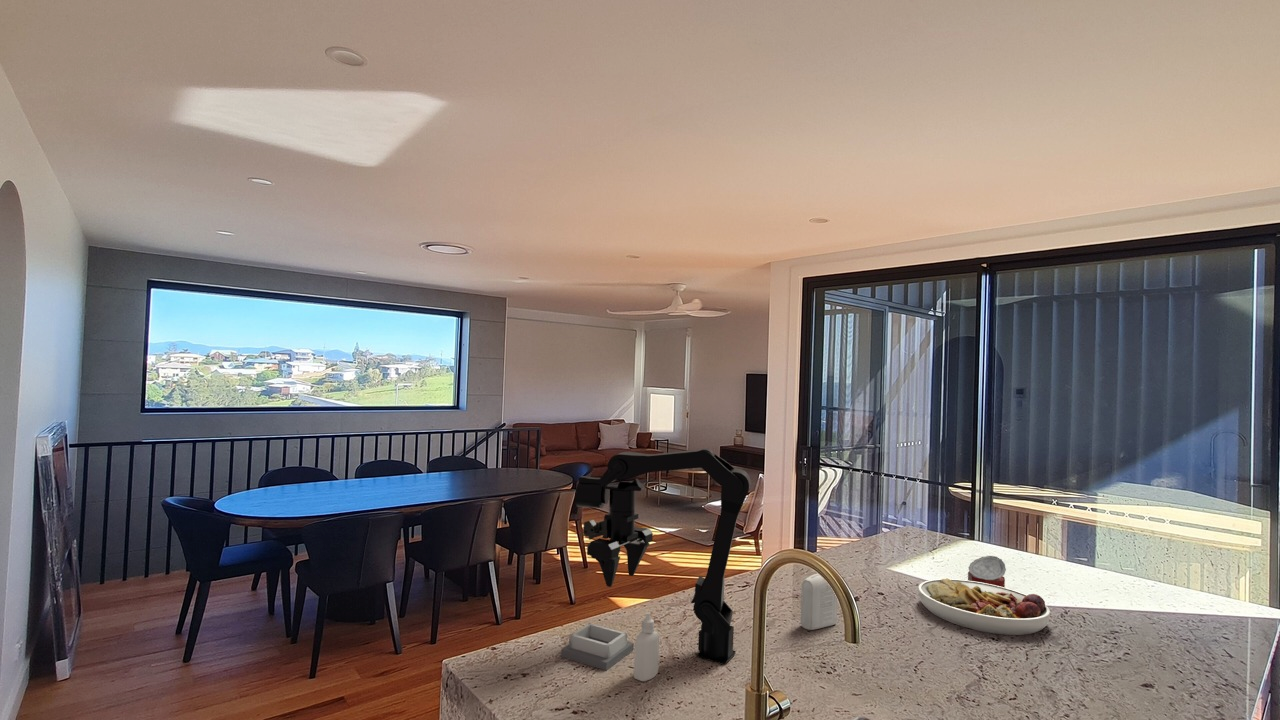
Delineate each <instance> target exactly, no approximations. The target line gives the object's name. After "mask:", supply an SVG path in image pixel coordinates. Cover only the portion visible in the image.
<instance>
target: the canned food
mask: <svg viewBox="0 0 1280 720" xmlns="http://www.w3.org/2000/svg"><path fill="white" fill-rule="evenodd" d="M1006 571H1007V568H1006V564H1005V562H1004V561H1003V559H1002V558H999V557H998V556H995V555H986V556H980V557H979V558H977V559H974V560H973V561H972V562H970V564H969V566H968V572H967V580H968V581H975V582H981V583H987V584H992V585H996V586H1000V587H1005V588H1006V586H1005V585H1006V584H1005V583H1006V578H1005V574H1006Z"/></svg>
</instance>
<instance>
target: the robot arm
mask: <svg viewBox="0 0 1280 720" xmlns="http://www.w3.org/2000/svg"><path fill="white" fill-rule="evenodd" d="M689 469H690V470H691V469H702V470H703V471H704V472H705V473H707V474H708V476H710V477H711V479H712V480H713V481H714V482H716V483H717V484H718V485H719V486H721V491H720V492H721V493H720V515H719V519H718V524H717V528H716V533H715V537H714V541H713V545H712V549H711V554H710V558H709V562H708V567H707V570H706V571H707V572H706V574H705V577H702V576H700V575H699V576H698V578H697V580H696V583H695V584H694V586H695V587H694V594H693V597H692V599H691V601H690V602H691V603H690V604H693V613H694V616H696V618H697V619H698V620H699V621H701V625H700V630H699V631H698V642H697V643H698V645H697V650H698V651H699V652H698V653H697V655H696V657H697V658H700V659H704V660H706V661H710V662H714V663H718V664H722V665H726V664H728V663H729V661H731V659H732V658H733V657H734V656H735V655H736V651H737V650H736V651H735V650H734V635H735V634H734V629H735V628H734V626H733V625H731V623H732V618H733V613H734V611H733V609H732V608H731V607H730V606H729V605H728V603H727V602H726V601H725V600H724V599H725V573H726V570H727V566H728V565H727V564H728V561H729V557H730V553H731V547H732V543H733V538H734V535H735V529H736V527H737V521H738V517H739V514H740V513H741V511H742V507H743V505H744V502H745V500H746V498H747V496H748V493H749V490H750V487H751V484H752V483H751V482H752V481H751V477H750V475H749V473H748V472H746V471H745V470H744V469H741V468H735V467H734V466H733V465H732V464H730V463H729V462H727V461H726V460H725V459H723V458H722V457H720V456H719V455H717V454H716V453H715V452H714V451H713V450H712V449H710V448H709V447H704V448H700V449H693V450H685V451H674V452H665V453H664V452H663V453H654V454H652V453H651V454H650V453H643V452H637V451H636V452H634V451H623V452H620V453H617V454H615V455H612V456H611V457H610V458H609V460H608V462H607V469H606V470H605V472H603V475H601V476H600V477H590V476H587V475H585V476H584V475H580V476H579V477H578V483H577V486H576V489H575V492H574V502H575V506H576V507H581V508H593V509H594V508H596V509H603V507H604V506H605V505H607V504H608V502H609V509H608V513H605V515H604V517H603V520H601V521H598V522H596V521H595V520H594V519H591V520H587V521H584V522H583V529H582V530H583V531H582V533H583V535H584V536H585V537H588V540H589V541H590V542H589V543H588V544H587V545H586V555H587V556H590V557H591V558H592V559H593V560H594V559H595V560H596V561H597V563H598V564H599V566H600V569H601V573H602V575H603V578H604V582H605V585H606V587H608V588H611V587H612V586H613V583H614V581H615V577H616V573H617V571H618V567H619V563H620V560H621V556H619V555H620V552H621V547H622V546H624V548H625V550H626V558H627V560H626V561H627V572H628V575H629V577H630V576H631V577H634V576H635V573H636V571H637V569H638V567H639V566H640V565H639V564H640V563H641V560H642V559H643V556H644V555H645V553H646V551H647V549H648V547H650V543H652V542H653V539H654V537H653V534H654V533H653V531H652V530H651V529H650V528H648V527H641V526H636V525H635V523H636V520H638V519H639V513H636V512H635V511H636V492H641V491H643V490H644V489H645V485H644V484H642V483H641V482H640V479H639V478H636V477H638V476H642V475H645V474H648V473H655V472H666V471H677V470H679V471H680V470H689ZM632 478H635V479H634V480H633V481H625V480H628V479H629V480H630V479H632ZM615 481H618V484H611V483H614V482H615ZM598 537H602V538H598ZM594 538H597V539H595V540H593V539H594Z"/></svg>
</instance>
